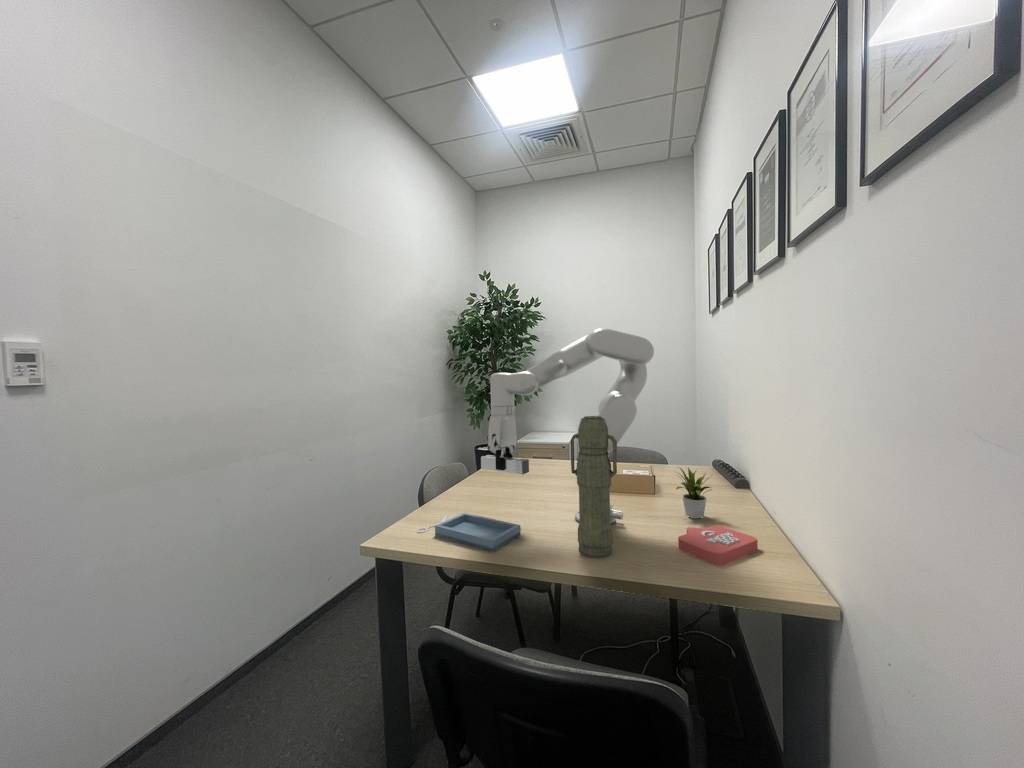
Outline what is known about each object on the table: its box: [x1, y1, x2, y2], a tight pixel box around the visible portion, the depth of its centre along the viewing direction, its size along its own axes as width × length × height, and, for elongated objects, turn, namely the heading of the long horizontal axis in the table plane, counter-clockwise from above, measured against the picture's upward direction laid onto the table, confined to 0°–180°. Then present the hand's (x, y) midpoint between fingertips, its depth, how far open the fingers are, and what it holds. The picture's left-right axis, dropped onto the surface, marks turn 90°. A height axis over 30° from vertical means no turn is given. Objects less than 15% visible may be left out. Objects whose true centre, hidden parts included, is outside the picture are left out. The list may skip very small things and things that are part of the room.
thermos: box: [570, 415, 618, 559], centre depth 102 cm, size 9×12×35 cm
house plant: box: [673, 465, 717, 519], centre depth 127 cm, size 14×14×16 cm
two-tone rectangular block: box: [480, 454, 530, 475], centre depth 125 cm, size 16×4×4 cm, turn 56°
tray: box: [434, 512, 522, 553], centre depth 114 cm, size 21×13×3 cm, turn 56°
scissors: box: [416, 513, 459, 534], centre depth 124 cm, size 11×1×20 cm
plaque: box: [677, 525, 759, 566], centre depth 103 cm, size 18×4×15 cm
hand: (504, 467), depth 125 cm, fingers closed on two-tone rectangular block, 3 cm apart
